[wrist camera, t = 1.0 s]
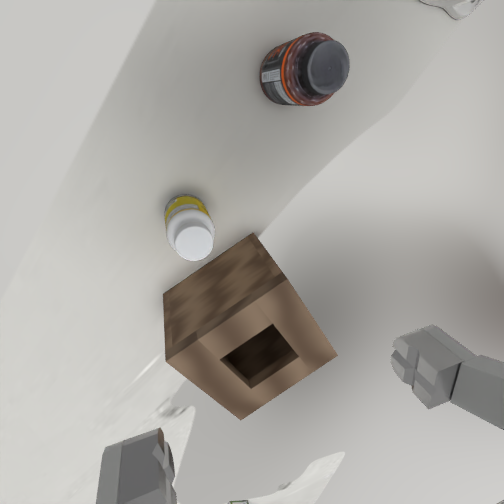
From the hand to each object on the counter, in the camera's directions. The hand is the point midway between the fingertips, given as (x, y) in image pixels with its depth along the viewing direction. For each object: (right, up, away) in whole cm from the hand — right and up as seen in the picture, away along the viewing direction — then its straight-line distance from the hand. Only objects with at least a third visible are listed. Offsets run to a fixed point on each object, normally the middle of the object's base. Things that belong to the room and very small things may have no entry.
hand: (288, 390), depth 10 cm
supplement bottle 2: (+2, +25, +25) cm, 36 cm away
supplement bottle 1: (-10, +10, +29) cm, 32 cm away
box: (-4, -3, +38) cm, 38 cm away
